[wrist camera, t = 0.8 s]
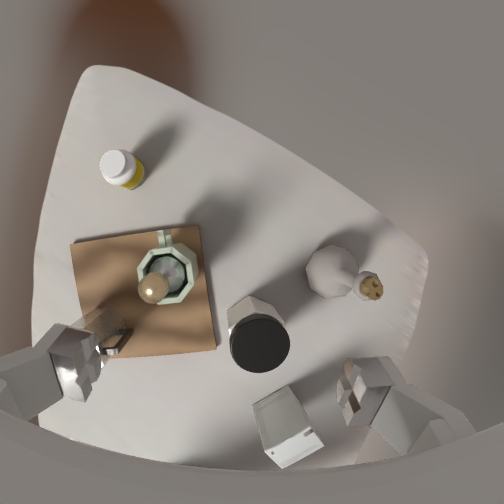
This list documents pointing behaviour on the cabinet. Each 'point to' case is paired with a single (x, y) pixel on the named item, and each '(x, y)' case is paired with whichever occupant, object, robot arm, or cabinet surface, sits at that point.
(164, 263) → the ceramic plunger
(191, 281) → the pale green octagonal mug
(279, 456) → the skincare box
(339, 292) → the potion bottle
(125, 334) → the steel press
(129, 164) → the supplement bottle
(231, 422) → the cabinet surface
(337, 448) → the cabinet surface
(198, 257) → the serving board
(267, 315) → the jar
